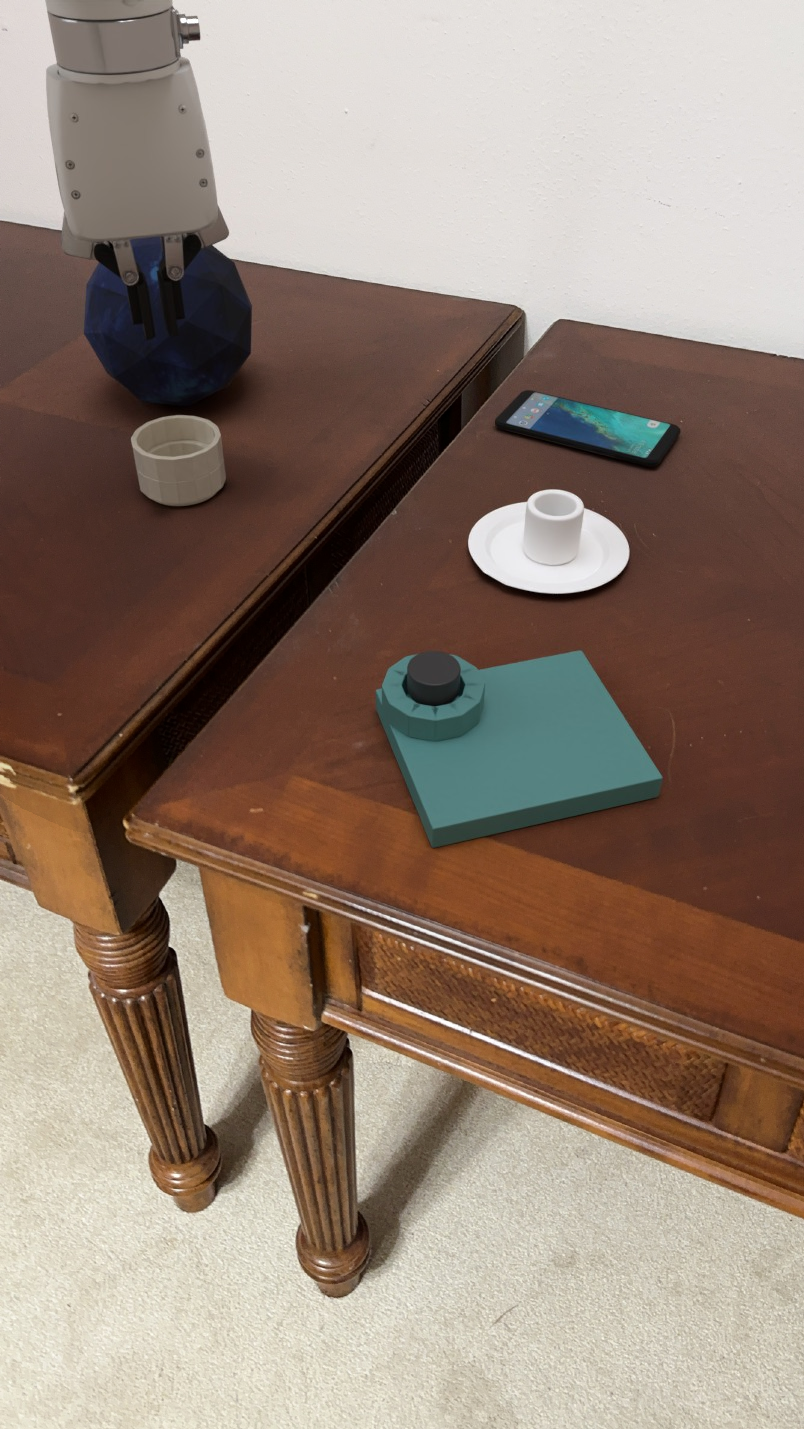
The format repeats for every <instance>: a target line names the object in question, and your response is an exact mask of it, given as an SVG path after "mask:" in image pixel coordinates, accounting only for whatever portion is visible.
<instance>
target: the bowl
mask: <svg viewBox="0 0 804 1429" xmlns="http://www.w3.org/2000/svg"><path fill="white" fill-rule="evenodd" d="M222 440H223V439H222V435H221V431H220V428H219V426H218V425H217V424H215V423H214V422H213V421H211V420H210V419H208V418H203V417H200V416H196V415H188V414H187V415H185V414H175V415H168V416H162V417H158V418H156V419H152V420H149V421H147V422H145V423H143V424H142V425H141V426H139V427H138V428H136V429H135V430H134V432H133V434H132V435H131V437H130V444H131V449H132V453H133V459H134V464H135V470H136V475H137V479H138V480H137V481H138V485H139V490H140V492H141V493H142V494H143V495H144V496H145V497H147V498H148V499H150V500H152V501H154V502H155V503H158V504H161V505H165V506H170V507H186V506H193V505H197V504H200V503H203V502H205V501H208V500H209V499H211V498H213V497H214V496H215V495H216V494H217V493H218V492H219V491H220V490H221V489H222V488H223V487H224V484H225V483H226V480H227V474H226V466H225V457H224V449H223V441H222Z"/></svg>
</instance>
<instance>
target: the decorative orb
mask: <svg viewBox="0 0 804 1429" xmlns="http://www.w3.org/2000/svg"><path fill="white" fill-rule="evenodd" d="M130 242H131V246H132V250H133V254H134V258H135V262H137V263H138V264H139V265H140V267H141V270H142V272H144V275H145V278H146V282H147V285H148V290H149V296H150V303H151V309H152V315H153V322H154V328H155V334H156V337H153V339H150V340H146V337H145V334H144V330H143V326H142V324H136V325H133V322H132V318H131V313H130V307H129V301H128V295H127V289H126V284H124V283H123V281H122V279H121V278H119V277H118V276H117V275H115V274H114V273H113V272H111V271H110V270H109V269H107V268H106V267H105V266H103V265H102V264H101V263H99V262H98V263H97V265H96V267H95V268H94V270H93V271H92V273H91V276H90V277H89V279H88V281H87V283H86V286H85V287H86V288H85V302H84V303H85V304H84V320H83V321H84V322H83V334H84V337H85V338H86V340H87V342H88V343H89V345H90V347H91V348H92V350H93V351H94V353H95V355H96V357H97V359H98V360H99V362H100V364H101V365H102V367H103V369H104V371H105V372H106V374H107V375H108V376H109V377H111V378H112V379H113V380H114V381H116V383H118V384H119V385H121V386H122V387H123V388H124V389H126V390H127V391H128V392H129V393H130V394H132V395H133V396H134V397H135V398H137V399H138V400H139V401H140V402H141V403H148V404H149V403H150V404H161V405H171V406H178V407H180V406H181V407H190V406H191V405H194V404H197V403H198V402H200V401H202V400H204V399H205V398H208V397H210V396H211V395H214V394H215V393H217V392H219V391H221V390H223V389H225V388H227V387H228V386H229V384H231V382H232V381H233V379H234V378H235V376H236V375H237V373H238V372H239V371H240V369H241V368H242V367H243V366H244V364H245V362H246V361H247V360H248V358H250V355H251V353H252V329H253V328H252V324H253V322H252V320H253V305H252V302H251V300H250V297H249V295H248V293H247V289H246V287H245V284H244V283H243V280H242V278H241V275H240V273H239V271H238V268H237V265H236V263H235V262H234V261H233V260H232V259H230V258H229V257H228V256H227V255H225V254H224V253H223V252H222V251H220V250H219V249H218V248H217V247H215V246H214V244H213V245H211V246H209V247H207V248H206V247H205V248H203V249H201V250H200V251H199V253H198V254H197V255H196V256H195V258H194V259H193V260H192V262H191V263H190V264H189V265H188V267H187V268H186V269H185V271H184V276H183V277H182V279H180V282H181V290H182V297H183V304H184V312H185V319H179V320H177V326H178V333H179V336H175V337H172V336H171V335H168V332H167V329H166V325H165V322H164V318H163V312H162V305H161V298H160V292H159V285H158V278H157V270H159V267H158V266H159V262H160V261H161V259H162V254H161V239H160V236H159V237H149V238H139V239H130Z"/></svg>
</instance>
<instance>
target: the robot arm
mask: <svg viewBox="0 0 804 1429" xmlns="http://www.w3.org/2000/svg"><path fill="white" fill-rule="evenodd" d="M44 1H45V6H46V13H47V18H48V23H49V28H50V35H51V39H52V44H53V45H52V46H53V51H54V55H55V60H56V63H54V64H51V65H49V66H47V68H46V69H45V87H46V88H45V91H46V92H45V93H46V108H47V117H48V125H49V134H50V140H51V147H52V153H53V159H54V166H55V173H56V179H57V184H58V190H59V191H58V192H59V195H60V200H61V204H62V207H63V215H62V216H63V218H62V226H61V235H60V245H61V250H62V252H63V253H64V254H65V255H67V256H70V257H75V258H79V259H85V260H90V261H91V260H94V261H97V262H98V263H101V264H102V265H103V266H105V267H106V268H107V269H109V270H110V271H111V272H113V273H114V274H115V275H117V276H118V277H119V278H121V279H122V281H123V283H124V284H126V289H127V295H128V301H129V307H130V313H131V318H132V322H133V325H136V324H142V326H143V330H144V334H145V337H146V340H150V339H153V337H156V334H155V328H154V322H153V315H152V309H151V303H150V296H149V290H148V285H147V282H146V278H145V275H144V272H142V270H141V267H140V265H139V264H138V263H137V262H135V258H134V254H133V250H132V246H131V242H130V239H139V238H149V237H159V236H160V239H161V254H162V259H161V261H160V262H159V266H158V267H159V270H157V278H158V285H159V292H160V298H161V305H162V312H163V318H164V322H165V325H166V329H167V332H168V335H171V336H172V337H175V336H179V333H178V326H177V320H179V319H185V312H184V304H183V297H182V290H181V282H180V279H182V277H183V276H184V271H185V269H186V268H187V267H188V265H189V264H190V263H191V262H192V260H193V259H194V258H195V256H196V255H197V254H198V253H199V251H200V250H201V249H203V248H205V247H206V248H207V247H209V246H211V245H213V246H214V245H216V244H218V243H220V242H223V241H224V240H226V239H228V237H229V236H230V230H229V227H228V225H227V223H226V221H225V218H224V215H223V214H222V211H221V209H220V206H219V204H218V195H217V187H216V180H215V178H216V177H215V173H214V166H213V160H212V154H211V148H210V141H209V137H208V130H207V125H206V121H205V116H204V113H203V109H202V104H201V98H200V94H199V88H198V84H197V81H196V77H195V74H194V71H193V68H192V65H191V62H190V60H189V59H188V58H187V57H184V56H181V55H182V54H181V50H183V49H184V45H188V44H190V42H197V41H198V42H199V41H201V28H200V21H199V17H198V15H186V13H180V12H179V10H178V9H175V7H174V6H173V2H174V1H173V0H44Z"/></svg>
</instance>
